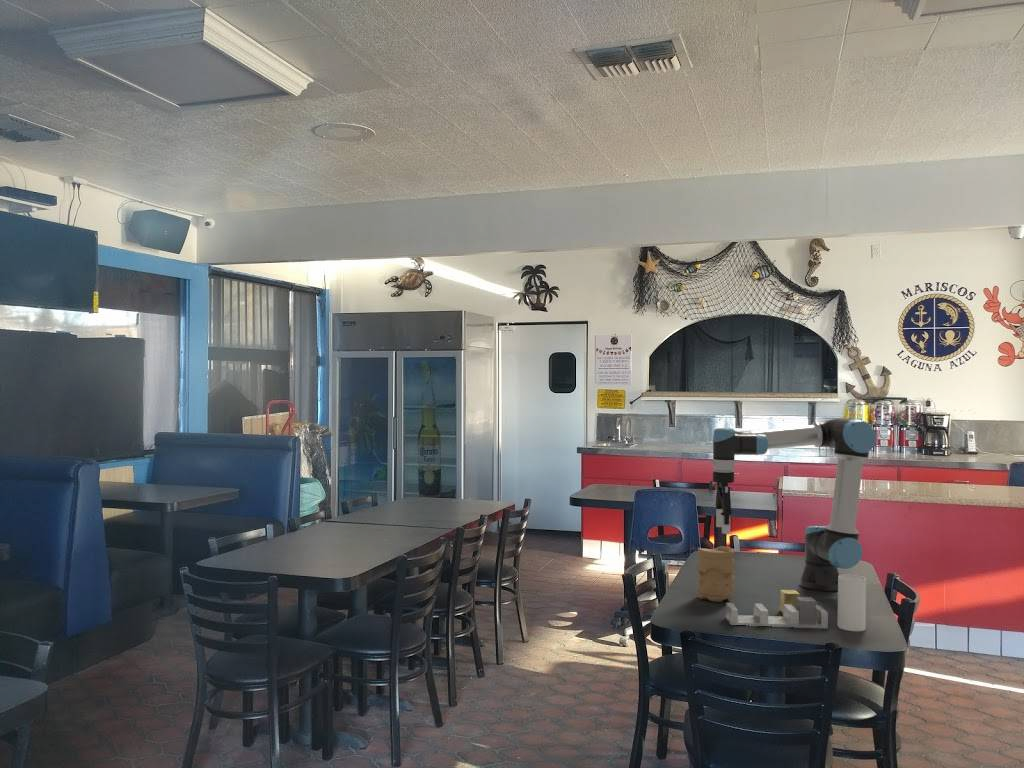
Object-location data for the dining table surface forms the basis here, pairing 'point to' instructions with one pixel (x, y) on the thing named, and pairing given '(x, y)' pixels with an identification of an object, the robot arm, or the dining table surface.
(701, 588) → the container
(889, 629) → the dining table surface
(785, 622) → the white slotted rack
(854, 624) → the cup
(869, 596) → the dining table surface
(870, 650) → the dining table surface
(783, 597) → the tan wooden cube
